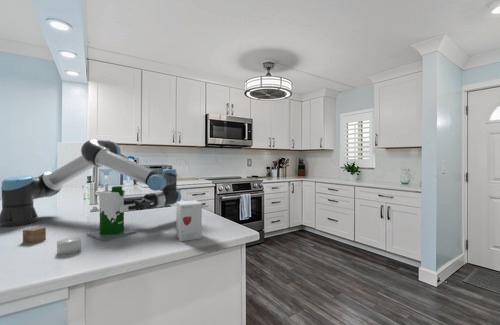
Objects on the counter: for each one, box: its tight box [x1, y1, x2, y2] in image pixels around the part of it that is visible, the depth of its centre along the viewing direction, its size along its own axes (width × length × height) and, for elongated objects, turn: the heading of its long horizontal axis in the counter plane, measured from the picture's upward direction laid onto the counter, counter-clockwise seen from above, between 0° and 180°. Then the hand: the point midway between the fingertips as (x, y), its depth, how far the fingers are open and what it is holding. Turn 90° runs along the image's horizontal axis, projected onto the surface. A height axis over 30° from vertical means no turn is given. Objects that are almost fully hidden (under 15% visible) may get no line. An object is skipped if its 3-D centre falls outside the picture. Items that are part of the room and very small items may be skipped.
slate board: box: [86, 226, 137, 242], centre depth 109 cm, size 14×14×1 cm
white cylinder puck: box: [56, 236, 82, 256], centre depth 89 cm, size 7×7×4 cm
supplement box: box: [175, 199, 203, 242], centre depth 105 cm, size 9×9×15 cm
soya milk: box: [98, 185, 126, 234], centre depth 109 cm, size 9×9×20 cm
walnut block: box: [22, 226, 47, 244], centre depth 100 cm, size 5×5×5 cm
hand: (111, 207), depth 109 cm, fingers open, 13 cm apart
